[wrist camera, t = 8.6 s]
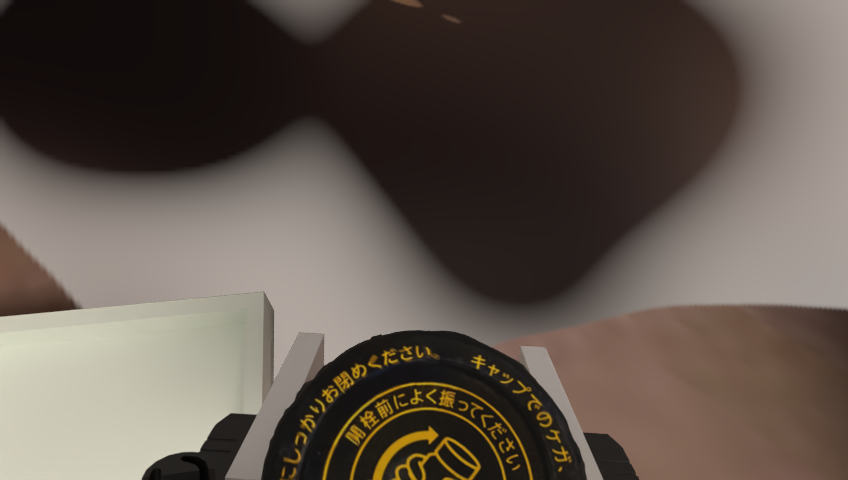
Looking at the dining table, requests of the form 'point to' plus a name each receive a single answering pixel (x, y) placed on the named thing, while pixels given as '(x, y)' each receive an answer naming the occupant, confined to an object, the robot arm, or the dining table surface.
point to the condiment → (423, 417)
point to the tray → (127, 383)
